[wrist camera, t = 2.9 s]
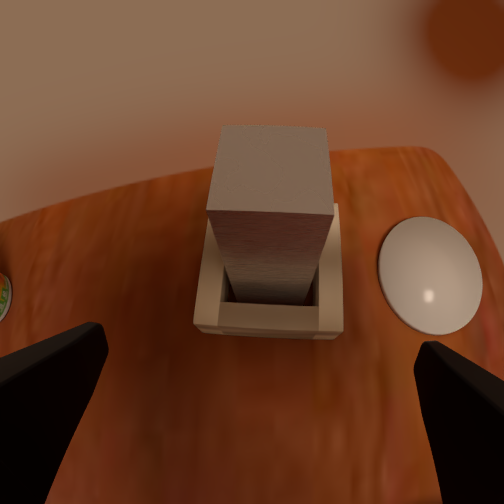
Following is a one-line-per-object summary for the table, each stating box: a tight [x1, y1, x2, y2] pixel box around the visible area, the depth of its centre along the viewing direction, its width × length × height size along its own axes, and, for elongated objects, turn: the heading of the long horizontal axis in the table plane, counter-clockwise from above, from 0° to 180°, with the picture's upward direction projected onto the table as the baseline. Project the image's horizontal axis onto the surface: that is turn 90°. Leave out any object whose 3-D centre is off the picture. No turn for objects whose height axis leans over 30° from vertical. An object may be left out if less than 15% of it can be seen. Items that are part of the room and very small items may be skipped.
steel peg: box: [206, 125, 335, 306], centre depth 17 cm, size 4×4×12 cm
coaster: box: [378, 217, 482, 336], centre depth 21 cm, size 10×10×1 cm
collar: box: [193, 204, 343, 340], centre depth 21 cm, size 9×9×3 cm
